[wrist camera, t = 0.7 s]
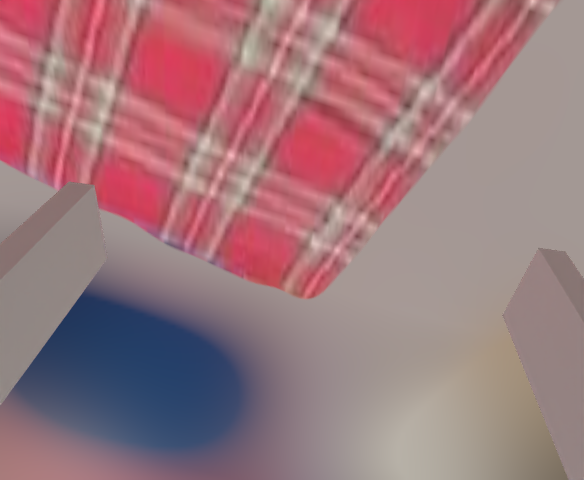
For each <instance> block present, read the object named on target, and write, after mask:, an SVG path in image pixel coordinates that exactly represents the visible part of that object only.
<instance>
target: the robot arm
mask: <svg viewBox="0 0 584 480" xmlns="http://www.w3.org/2000/svg"><path fill="white" fill-rule="evenodd" d="M107 258H108V257H107V252H106V247H105V241H104V236H103V230H102V224H101V219H100V214H99V208H98V203H97V197H96V192H95V187H94V185H89V184H82V183H75V182H68V183H67V184H66V185H65V186H64V187H63V188H62V189H60V190H59V191H58V192H57V193H56V194H55V195H54V196H53V197H52V198H50V200H48V201H47V202H46V203H45V204H44V205H43V206H42V207H41V208H40V209H38V210H37V211H36V212H35V213H34V214H33V215H32V216H31V217H30V218H29V219H27V220H26V221H25V222H24V223H23V224H22V225H21V226H20V227H18V228H17V229H16V230H15V231H14V232H13V233H12V234H11V235H10V236H9V237H7V238H6V239H5V240H4V241H3V242H2V243H1V244H0V405H1V403H2V402H3V401H4V399H5V398H6V397H7V395H8V394H9V393H10V391H11V390H12V388H13V387H14V386H15V384H16V383H17V382H18V380H19V379H20V378H21V376H22V375H23V373H24V372H25V371H26V369H27V368H28V366H29V365H30V364H31V362H32V361H33V360H34V358H35V357H36V356H37V354H38V353H39V351H40V350H41V349H42V347H43V346H44V345H45V343H46V342H47V341H48V339H49V338H50V336H51V335H52V334H53V332H54V331H55V329H56V328H57V327H58V325H59V324H60V323H61V321H62V320H63V319H64V317H65V316H66V315H67V313H68V312H69V310H70V309H71V308H72V306H73V305H74V304H75V302H76V301H77V299H78V298H79V297H80V295H81V294H82V293H83V291H84V290H85V288H86V287H87V286H88V284H89V283H90V282H91V280H92V279H93V277H94V276H95V275H96V273H97V272H98V271H99V269H100V268H101V267H102V265H103V263H104V262H105V261H106V260H107ZM503 318H504V320H505V323H506V325H507V328H508V330H509V333H510V335H511V338H512V340H513V343H514V345H515V348H516V350H517V353H518V355H519V358H520V360H521V362H522V365H523V368H524V370H525V373H526V375H527V377H528V380H529V382H530V385H531V387H532V390H533V392H534V395H535V397H536V400H537V402H538V405H539V407H540V410H541V412H542V415H543V417H544V419H545V422H546V424H547V427H548V429H549V432H550V434H551V437H552V439H553V442H554V444H555V447H556V449H557V452H558V454H559V457H560V459H561V462H562V464H563V467H564V469H565V471H566V474H567V477H568V479H569V480H584V279H583V277H582V276H581V274H580V273H579V271H578V270H577V268H576V267H575V265H574V264H573V262H572V261H571V259H570V258H569V256H568V255H567V254H566V252H564V251H557V250H550V249H543V248H538V250H537V252H536V254H535V256H534V258H533V260H532V261H531V263H530V265H529V267H528V269H527V271H526V272H525V274H524V276H523V278H522V280H521V282H520V284H519V285H518V287H517V289H516V291H515V293H514V295H513V297H512V299H511V300H510V302H509V304H508V306H507V308H506V310H505V311H504V313H503Z"/></svg>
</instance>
